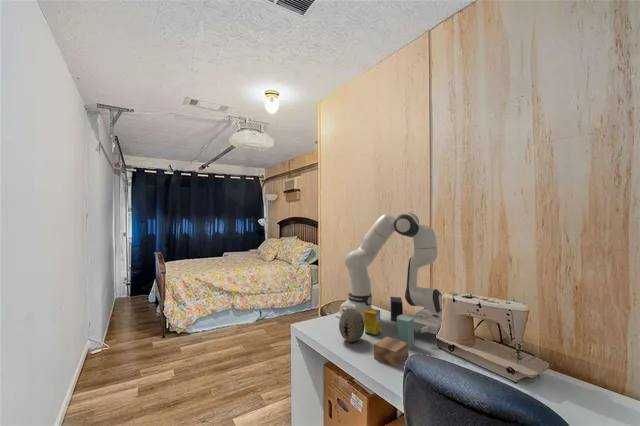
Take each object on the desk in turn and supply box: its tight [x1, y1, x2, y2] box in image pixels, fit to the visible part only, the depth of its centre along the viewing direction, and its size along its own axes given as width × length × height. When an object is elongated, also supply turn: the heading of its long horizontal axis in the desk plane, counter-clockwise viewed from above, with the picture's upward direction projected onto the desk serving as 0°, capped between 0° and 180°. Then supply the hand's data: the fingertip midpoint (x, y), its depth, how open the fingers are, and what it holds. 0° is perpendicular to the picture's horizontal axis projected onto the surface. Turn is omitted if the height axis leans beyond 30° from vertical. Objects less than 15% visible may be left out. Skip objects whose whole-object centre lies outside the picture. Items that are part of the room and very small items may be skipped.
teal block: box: [397, 316, 415, 350], centre depth 129 cm, size 5×5×12 cm
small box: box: [390, 296, 404, 322], centre depth 163 cm, size 11×6×10 cm, turn 168°
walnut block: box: [373, 336, 410, 368], centre depth 118 cm, size 10×10×6 cm
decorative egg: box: [338, 308, 365, 343], centre depth 135 cm, size 12×12×15 cm
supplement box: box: [364, 308, 382, 337], centre depth 143 cm, size 6×6×11 cm
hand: (410, 328), depth 132 cm, fingers open, 8 cm apart
